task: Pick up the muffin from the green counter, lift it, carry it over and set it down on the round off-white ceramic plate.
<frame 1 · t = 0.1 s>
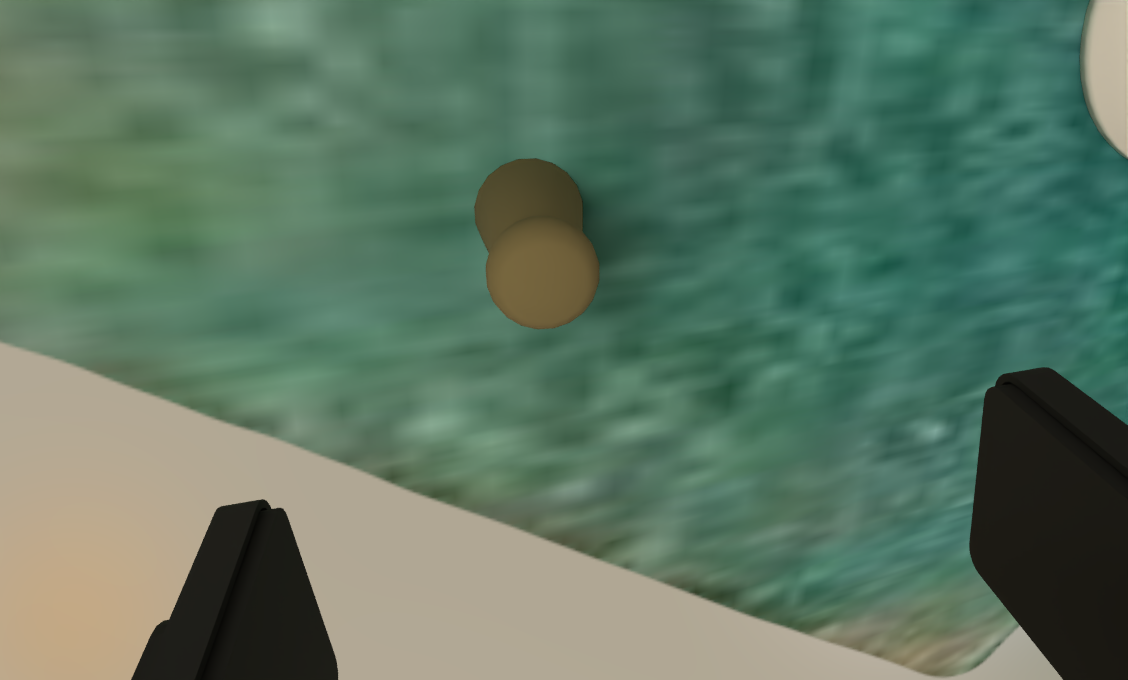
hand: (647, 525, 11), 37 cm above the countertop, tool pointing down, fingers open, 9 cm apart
cork: (528, 211, 48), on the countertop
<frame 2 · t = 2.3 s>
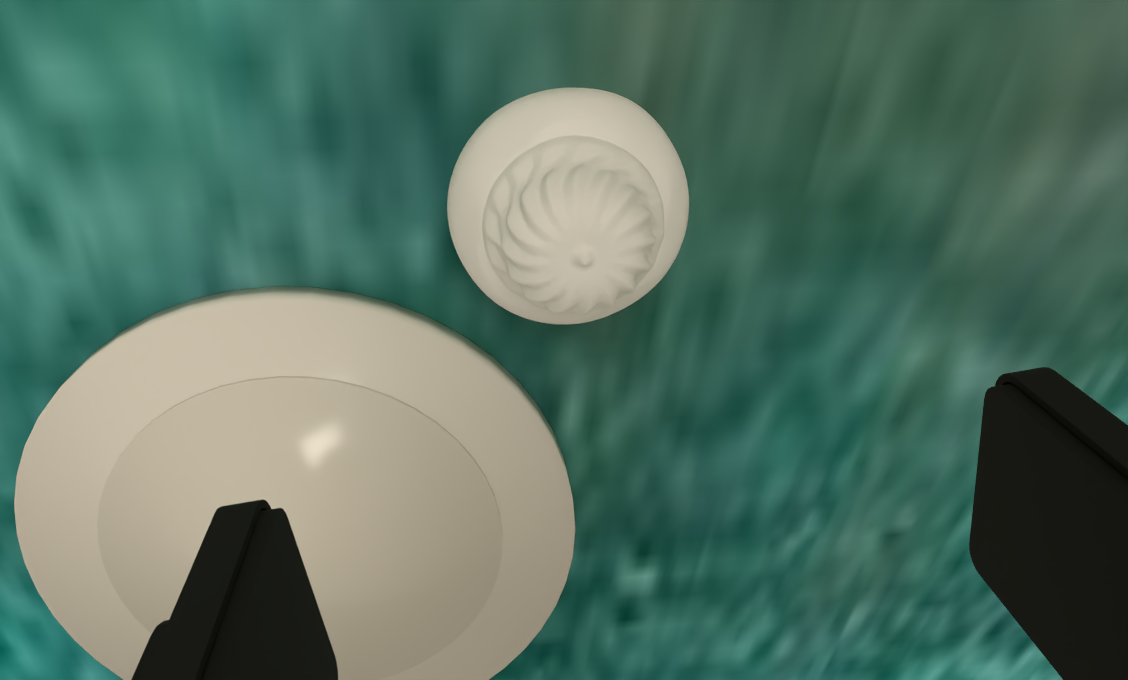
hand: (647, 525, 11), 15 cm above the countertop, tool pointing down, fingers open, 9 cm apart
plate: (312, 526, 30), on the countertop
muffin: (556, 171, 25), on the countertop
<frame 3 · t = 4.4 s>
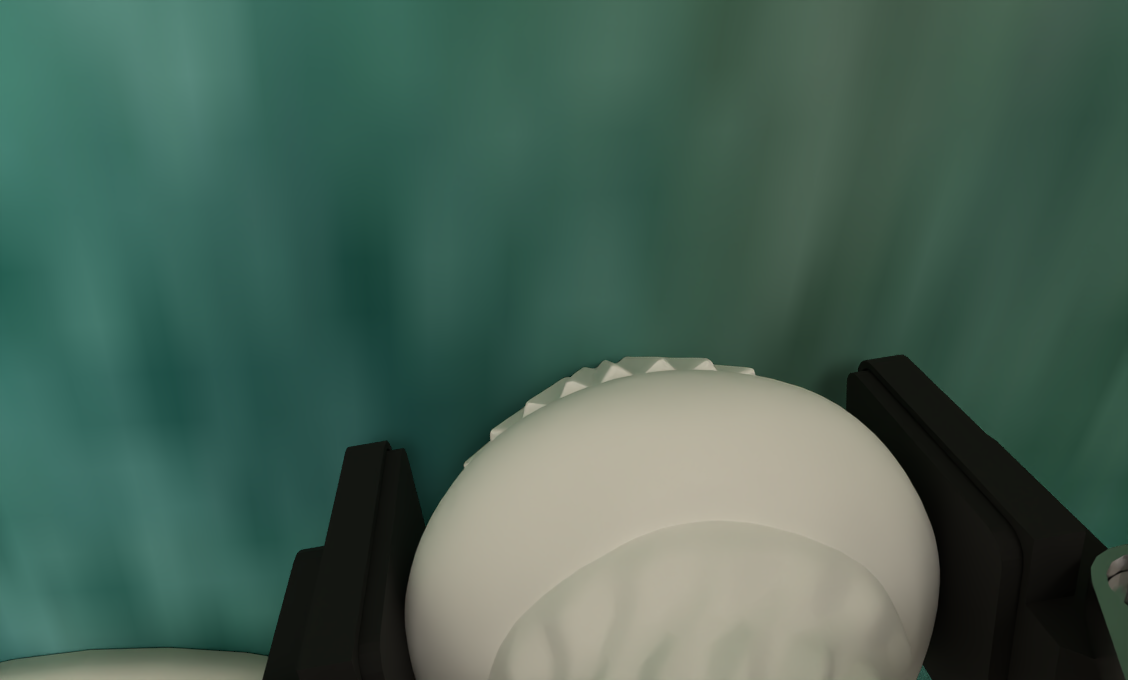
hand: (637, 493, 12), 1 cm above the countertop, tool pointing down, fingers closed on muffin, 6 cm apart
muffin: (622, 442, 13), on the countertop, touching gripper
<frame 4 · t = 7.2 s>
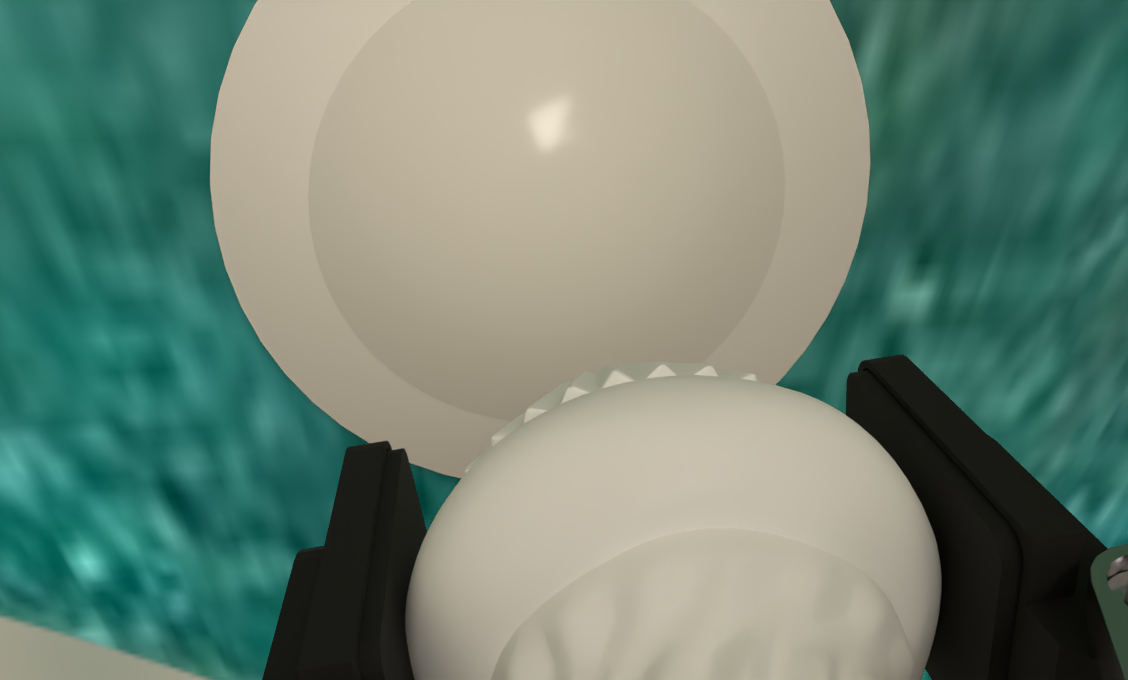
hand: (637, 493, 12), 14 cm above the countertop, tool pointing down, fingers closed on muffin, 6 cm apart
plate: (549, 205, 24), on the countertop
muffin: (623, 446, 13), point 13 cm above the countertop, touching gripper
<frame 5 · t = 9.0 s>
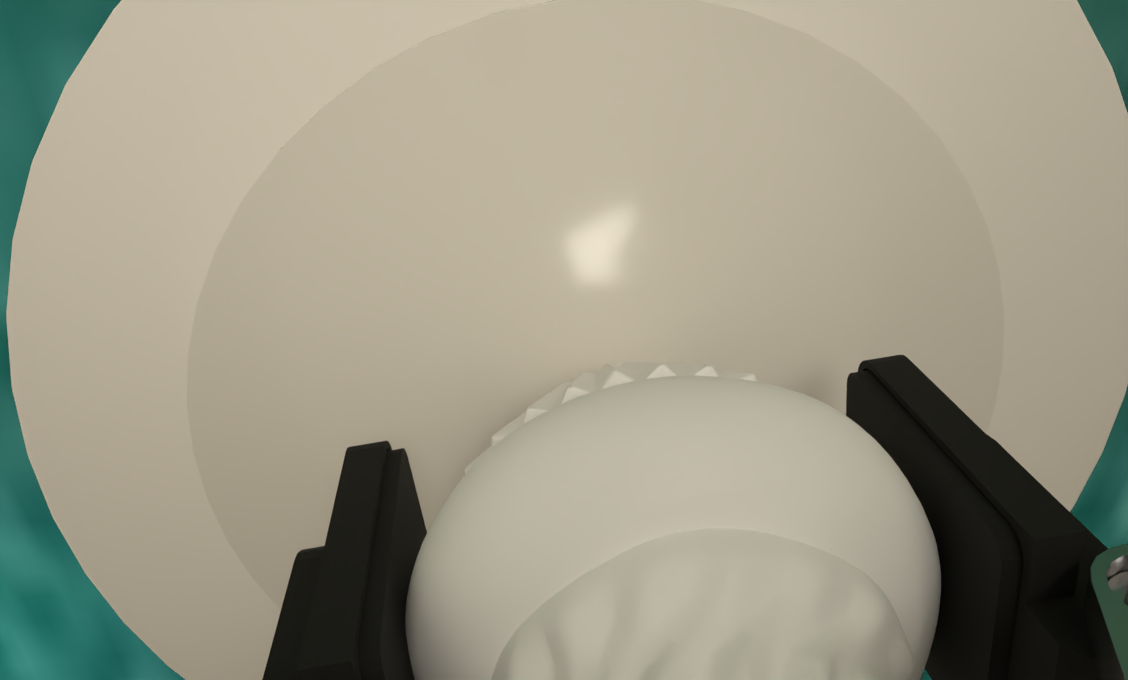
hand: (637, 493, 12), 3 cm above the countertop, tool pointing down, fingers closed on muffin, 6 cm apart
plate: (601, 393, 15), on the countertop
muffin: (623, 446, 13), point 2 cm above the countertop, touching gripper
when the fingers open (3 cm above the countertop, at t = 9.9 s): muffin stays where it is, resting on plate.
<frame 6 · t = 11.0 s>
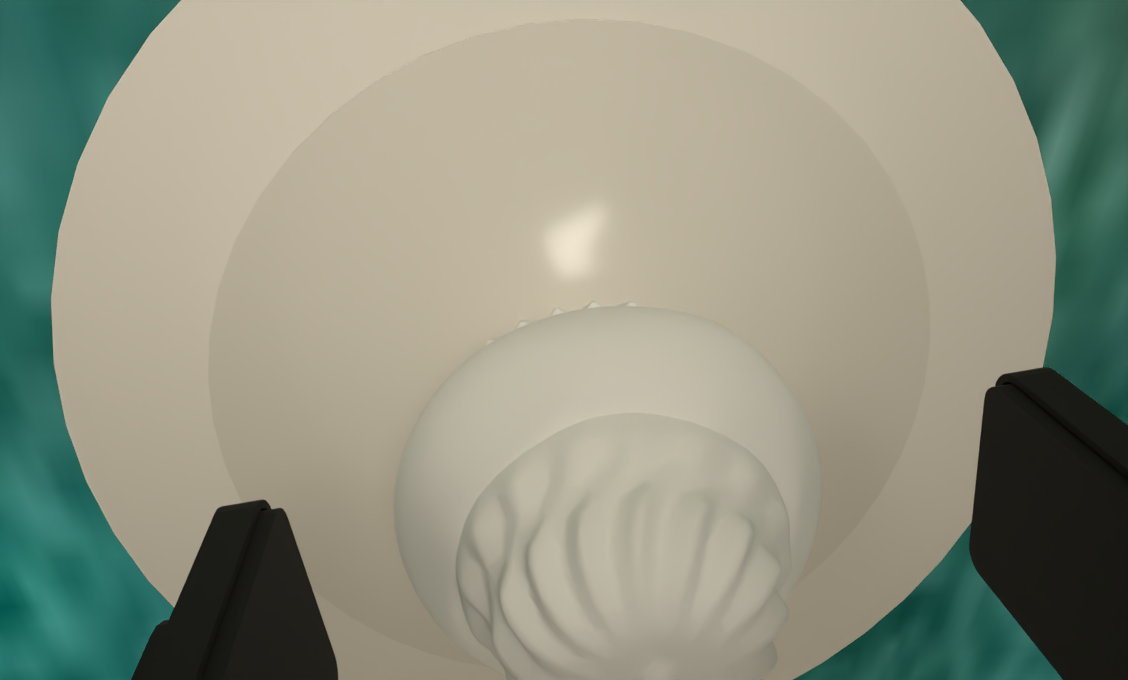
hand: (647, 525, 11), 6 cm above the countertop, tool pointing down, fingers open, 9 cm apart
plate: (576, 371, 17), on the countertop
muffin: (578, 389, 16), point 1 cm above the countertop, touching plate
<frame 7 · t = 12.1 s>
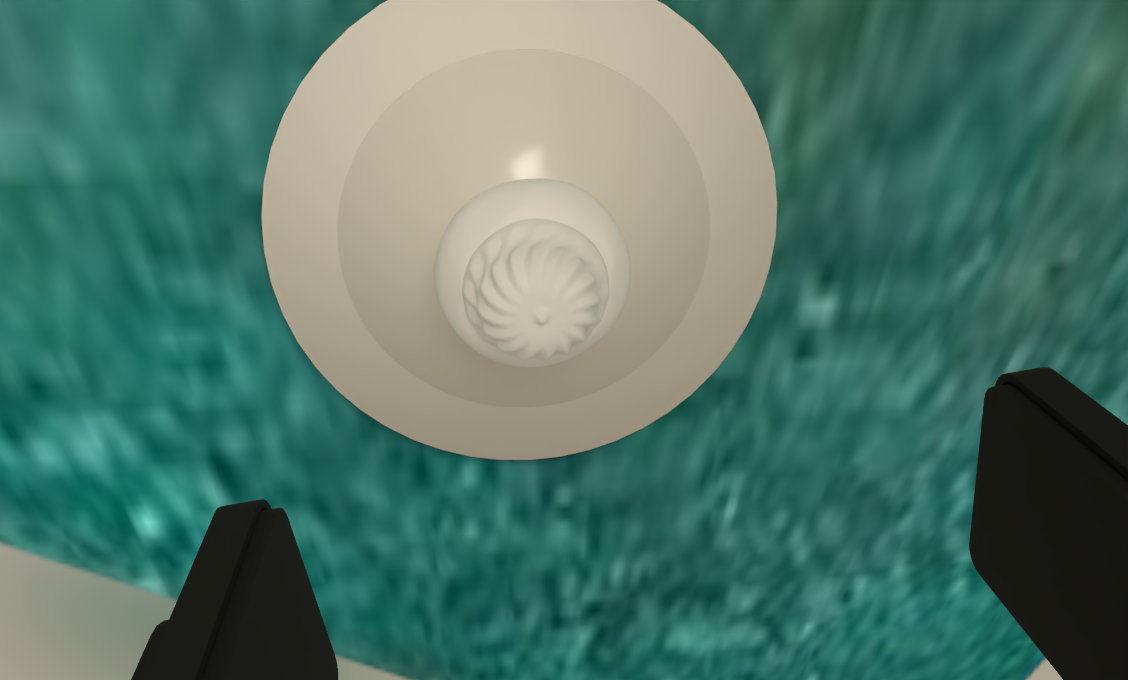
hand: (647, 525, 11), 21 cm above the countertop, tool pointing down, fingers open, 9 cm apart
plate: (525, 234, 31), on the countertop
muffin: (525, 238, 30), point 1 cm above the countertop, touching plate
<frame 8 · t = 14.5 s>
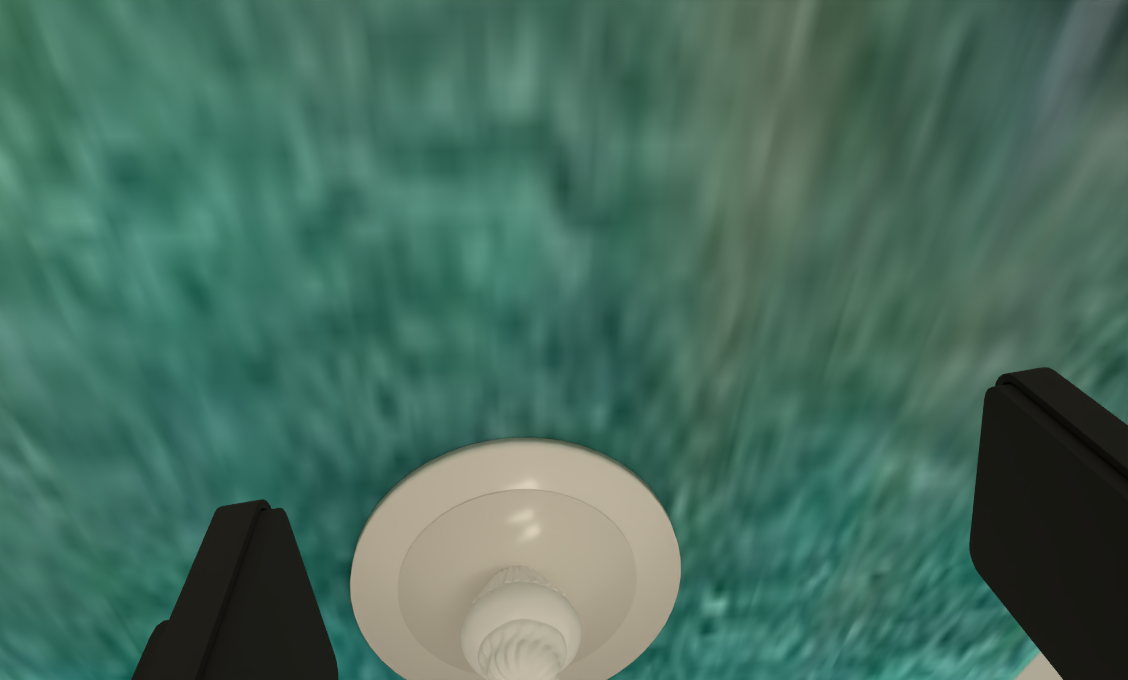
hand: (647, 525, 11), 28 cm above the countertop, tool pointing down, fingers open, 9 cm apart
plate: (517, 575, 48), on the countertop
muffin: (517, 585, 47), point 1 cm above the countertop, touching plate
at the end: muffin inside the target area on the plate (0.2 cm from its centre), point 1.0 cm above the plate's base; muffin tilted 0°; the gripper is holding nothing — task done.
